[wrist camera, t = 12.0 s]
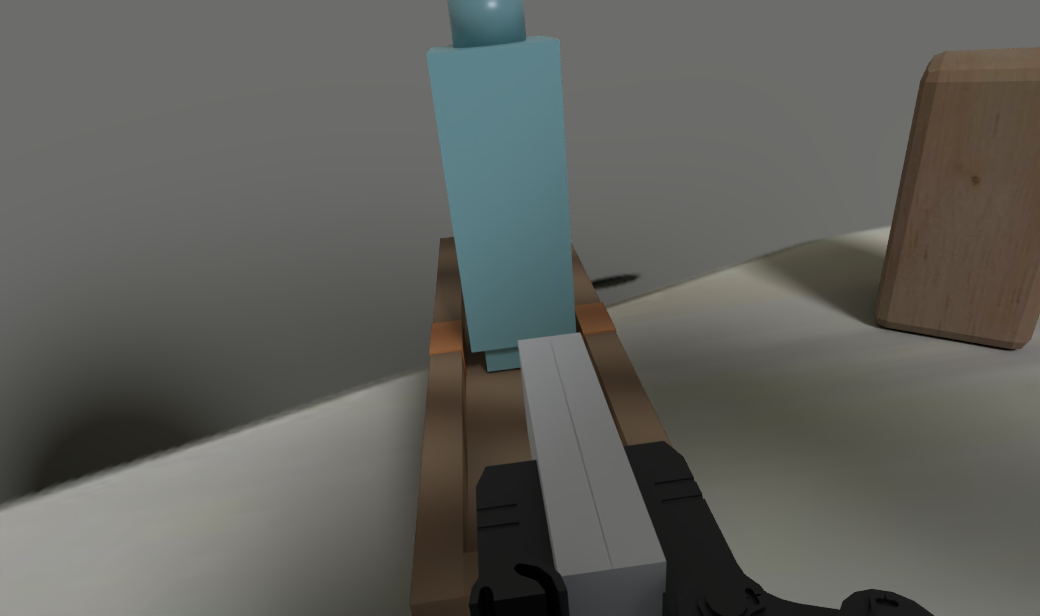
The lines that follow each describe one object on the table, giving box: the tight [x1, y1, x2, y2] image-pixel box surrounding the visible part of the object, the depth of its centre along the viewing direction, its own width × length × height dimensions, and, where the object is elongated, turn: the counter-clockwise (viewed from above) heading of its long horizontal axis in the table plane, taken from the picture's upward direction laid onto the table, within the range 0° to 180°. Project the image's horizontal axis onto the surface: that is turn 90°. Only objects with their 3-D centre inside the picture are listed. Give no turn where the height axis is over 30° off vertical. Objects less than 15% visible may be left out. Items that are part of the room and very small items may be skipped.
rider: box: [426, 0, 576, 372], centre depth 27 cm, size 5×5×16 cm
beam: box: [410, 237, 673, 616], centre depth 32 cm, size 30×9×12 cm, turn 5°
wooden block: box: [874, 47, 1040, 349], centre depth 45 cm, size 10×10×20 cm
